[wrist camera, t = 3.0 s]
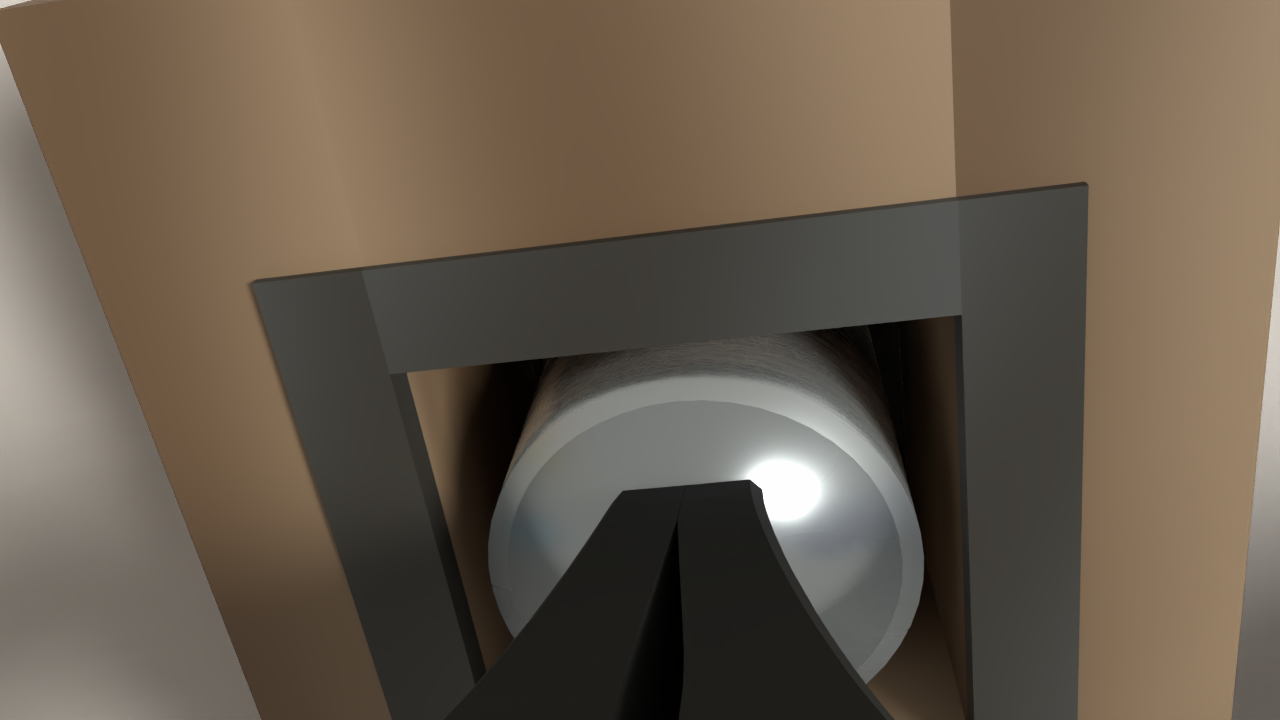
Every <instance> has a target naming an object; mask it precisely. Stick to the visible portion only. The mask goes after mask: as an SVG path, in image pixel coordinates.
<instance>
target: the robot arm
mask: <svg viewBox="0 0 1280 720" xmlns="http://www.w3.org/2000/svg"><path fill="white" fill-rule="evenodd" d="M443 720H894V718H893V717H892V716H891V715H890V714H889V712H888V711H887V710H886V709H885V708H884V706H883V705H882V704H881V703H880V701H879V700H878V699H877V698H876V696H875V695H874V694H873V693H872V691H871V690H870V689H869V687H868V686H867V685H866V683H865V682H864V681H863V679H862V678H861V677H860V675H859V674H858V673H857V671H856V670H855V669H854V667H853V666H852V664H851V663H850V662H849V660H848V659H847V657H846V656H845V654H844V653H843V652H842V650H841V649H840V647H839V646H838V644H837V643H836V642H835V640H834V639H833V637H832V636H831V634H830V633H829V631H828V630H827V628H826V626H825V625H824V623H823V622H822V620H821V619H820V617H819V616H818V614H817V612H816V611H815V609H814V607H813V606H812V604H811V602H810V600H809V599H808V597H807V595H806V593H805V592H804V590H803V588H802V586H801V585H800V583H799V581H798V579H797V578H796V576H795V574H794V573H793V571H792V569H791V567H790V565H789V563H788V561H787V559H786V557H785V555H784V553H783V551H782V548H781V546H780V544H779V542H778V539H777V537H776V535H775V533H774V530H773V528H772V525H771V522H770V520H769V517H768V514H767V511H766V507H765V503H764V496H763V489H762V488H760V487H759V486H758V485H757V484H755V483H754V482H753V481H751V480H750V479H748V480H737V481H726V482H715V483H705V484H693V485H686V486H685V485H682V486H671V487H659V488H648V489H636V490H624V491H622V492H621V493H620V494H619V495H618V497H617V498H616V499H615V500H614V501H613V502H612V504H611V505H610V507H609V508H608V510H607V511H606V513H605V515H604V516H603V518H602V519H601V521H600V522H599V524H598V525H597V527H596V528H595V530H594V531H593V533H592V534H591V536H590V537H589V539H588V540H587V542H586V543H585V545H584V546H583V547H582V549H581V550H580V552H579V553H578V555H577V556H576V558H575V559H574V560H573V562H572V563H571V565H570V566H569V568H568V569H567V570H566V572H565V573H564V575H563V576H562V577H561V579H560V580H559V581H558V583H557V584H556V585H555V587H554V588H553V589H552V591H551V592H550V593H549V595H548V596H547V597H546V599H545V600H544V601H543V603H542V604H541V605H540V607H539V608H538V610H537V611H536V612H535V614H534V615H533V616H532V618H531V619H530V620H529V621H528V623H527V624H526V625H525V626H524V628H523V629H522V630H521V632H520V633H519V634H518V635H517V636H516V637H515V639H514V640H513V641H512V642H511V643H510V645H509V646H508V647H507V648H506V649H505V651H504V652H503V653H502V654H501V655H500V656H499V658H498V659H497V660H496V661H495V662H494V664H493V665H492V666H491V667H490V668H489V669H488V671H487V672H486V673H485V674H484V675H483V677H482V678H481V679H480V680H479V681H478V682H477V684H476V685H475V686H474V687H473V688H472V689H471V690H470V691H469V693H468V694H467V695H466V696H465V697H464V698H463V699H462V700H461V701H460V702H459V703H458V704H457V705H456V707H455V708H454V709H453V710H452V711H451V712H450V713H449V714H448V715H447V716H446V717H445V718H444V719H443Z"/></svg>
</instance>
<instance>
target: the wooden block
mask: <svg viewBox="0 0 1280 720" xmlns="http://www.w3.org/2000/svg"><path fill="white" fill-rule="evenodd" d="M0 43H1V46H2V48H3V51H4V54H5V56H6V59H7V61H8V64H9V67H10V69H11V72H12V74H13V77H14V80H15V82H16V85H17V87H18V90H19V92H20V95H21V98H22V100H23V103H24V105H25V108H26V111H27V113H28V116H29V118H30V121H31V124H32V126H33V129H34V131H35V134H36V137H37V139H38V142H39V144H40V147H41V149H42V152H43V155H44V157H45V160H46V162H47V165H48V168H49V170H50V173H51V175H52V178H53V181H54V183H55V186H56V188H57V191H58V193H59V196H60V199H61V201H62V204H63V206H64V209H65V212H66V214H67V217H68V219H69V222H70V225H71V227H72V230H73V232H74V235H75V238H76V240H77V243H78V245H79V248H80V250H81V253H82V256H83V258H84V261H85V263H86V266H87V269H88V271H89V274H90V276H91V279H92V282H93V284H94V287H95V289H96V292H97V294H98V297H99V300H100V302H101V305H102V307H103V310H104V313H105V315H106V318H107V320H108V323H109V326H110V328H111V331H112V333H113V336H114V338H115V341H116V344H117V346H118V349H119V351H120V354H121V357H122V359H123V362H124V364H125V367H126V370H127V372H128V375H129V377H130V380H131V383H132V385H133V388H134V390H135V393H136V395H137V398H138V401H139V403H140V406H141V408H142V411H143V414H144V416H145V419H146V421H147V424H148V427H149V429H150V432H151V434H152V437H153V439H154V442H155V445H156V447H157V450H158V452H159V455H160V458H161V460H162V463H163V465H164V468H165V471H166V473H167V476H168V478H169V481H170V483H171V486H172V489H173V491H174V494H175V496H176V499H177V502H178V504H179V507H180V509H181V512H182V515H183V517H184V520H185V522H186V525H187V528H188V530H189V533H190V535H191V538H192V540H193V543H194V546H195V548H196V551H197V553H198V556H199V559H200V561H201V564H202V566H203V569H204V572H205V574H206V577H207V579H208V582H209V584H210V587H211V590H212V592H213V595H214V597H215V600H216V603H217V605H218V608H219V610H220V613H221V616H222V618H223V621H224V623H225V626H226V628H227V631H228V634H229V636H230V639H231V641H232V644H233V647H234V649H235V652H236V654H237V657H238V660H239V662H240V665H241V667H242V670H243V673H244V675H245V678H246V680H247V683H248V685H249V688H250V691H251V693H252V696H253V698H254V701H255V704H256V706H257V709H258V711H259V714H260V717H261V719H262V720H443V719H444V718H445V717H446V716H447V715H448V714H449V713H450V712H451V711H452V710H453V709H454V708H455V707H456V705H457V704H458V703H459V702H460V701H461V700H462V699H463V698H464V697H465V696H466V695H467V694H468V693H469V691H470V690H471V689H472V688H473V687H474V686H475V685H476V684H477V682H478V681H479V680H480V679H481V678H482V677H483V675H484V674H485V673H486V672H487V671H488V669H489V668H490V667H491V666H492V665H493V664H494V662H495V661H496V660H497V659H498V658H499V656H500V655H501V654H502V653H503V652H504V651H505V649H506V648H507V647H508V646H509V645H510V643H511V642H512V641H513V640H514V637H513V636H512V634H511V633H510V631H509V629H508V627H507V625H506V623H505V621H504V619H503V617H502V615H501V613H500V611H499V608H498V605H497V602H496V599H495V596H494V593H493V590H492V584H491V579H490V573H489V567H488V541H489V534H490V527H491V521H492V517H493V514H494V511H495V508H496V505H497V501H498V498H499V495H500V492H501V489H502V487H503V484H504V481H505V478H506V475H507V472H508V469H509V466H510V464H511V461H512V458H513V455H514V452H515V449H516V446H517V443H518V441H519V438H520V435H521V432H522V429H523V426H524V423H525V420H526V417H527V415H528V412H529V409H530V406H531V403H532V400H533V397H534V394H535V392H536V389H537V386H538V383H537V378H536V373H535V369H534V364H533V359H542V358H552V357H561V356H571V355H580V354H590V353H600V352H609V351H619V350H628V349H638V348H648V347H657V346H667V345H676V344H686V343H696V342H705V341H715V340H724V339H734V338H744V337H753V336H763V335H772V334H782V333H792V332H801V331H811V330H820V329H830V328H840V327H849V326H859V325H868V324H878V323H888V322H897V321H898V331H899V349H900V366H901V384H902V401H903V418H904V436H905V453H906V471H907V481H908V485H909V489H910V493H911V497H912V500H913V504H914V508H915V512H916V516H917V520H918V524H919V528H920V532H921V538H922V546H923V553H924V573H923V585H922V590H921V595H920V600H919V604H918V607H917V610H916V613H915V615H914V618H913V621H912V624H911V626H910V628H909V630H908V632H907V633H906V635H905V637H904V639H903V641H902V642H901V644H900V646H899V647H898V649H897V650H896V651H895V653H894V654H893V655H892V657H891V658H890V659H889V661H888V662H887V663H886V665H885V666H884V667H883V668H882V669H881V670H880V671H879V672H878V673H877V674H876V675H875V676H874V677H873V678H872V679H871V680H870V681H869V682H868V683H867V684H866V685H867V686H868V687H869V689H870V690H871V691H872V693H873V694H874V695H875V696H876V698H877V699H878V700H879V701H880V703H881V704H882V705H883V706H884V708H885V709H886V710H887V711H888V712H889V714H890V715H891V716H892V717H893V718H894V720H1231V718H1232V708H1233V698H1234V687H1235V677H1236V667H1237V656H1238V646H1239V636H1240V626H1241V615H1242V605H1243V595H1244V585H1245V574H1246V564H1247V554H1248V544H1249V533H1250V523H1251V513H1252V503H1253V492H1254V482H1255V472H1256V462H1257V451H1258V441H1259V431H1260V421H1261V410H1262V400H1263V390H1264V380H1265V369H1266V359H1267V349H1268V338H1269V328H1270V318H1271V308H1272V297H1273V287H1274V277H1275V267H1276V256H1277V246H1278V236H1279V226H1280V0H31V1H27V2H23V3H20V4H16V5H12V6H8V7H5V8H1V9H0Z"/></svg>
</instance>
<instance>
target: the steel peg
mask: <svg viewBox="0 0 1280 720" xmlns="http://www.w3.org/2000/svg"><path fill="white" fill-rule="evenodd" d="M748 479H750V480H751V481H753V482H754V483H755V484H757V485H758V486H759V487H760V488H762V489H763V496H764V503H765V507H766V511H767V514H768V517H769V520H770V522H771V525H772V528H773V530H774V533H775V535H776V537H777V539H778V542H779V544H780V546H781V548H782V551H783V553H784V555H785V557H786V559H787V561H788V563H789V565H790V567H791V569H792V571H793V573H794V574H795V576H796V578H797V579H798V581H799V583H800V585H801V586H802V588H803V590H804V592H805V593H806V595H807V597H808V599H809V600H810V602H811V604H812V606H813V607H814V609H815V611H816V612H817V614H818V616H819V617H820V619H821V620H822V622H823V623H824V625H825V626H826V628H827V630H828V631H829V633H830V634H831V636H832V637H833V639H834V640H835V642H836V643H837V644H838V646H839V647H840V649H841V650H842V652H843V653H844V654H845V656H846V657H847V659H848V660H849V662H850V663H851V664H852V666H853V667H854V669H855V670H856V671H857V673H858V674H859V675H860V677H861V678H862V679H863V681H864V682H865V683H866V684H867V683H868V682H869V681H870V680H871V679H872V678H873V677H874V676H875V675H876V674H877V673H878V672H879V671H880V670H881V669H882V668H883V667H884V666H885V665H886V663H887V662H888V661H889V659H890V658H891V657H892V655H893V654H894V653H895V651H896V650H897V649H898V647H899V646H900V644H901V642H902V641H903V639H904V637H905V635H906V633H907V632H908V630H909V628H910V626H911V624H912V621H913V618H914V615H915V613H916V610H917V607H918V604H919V600H920V595H921V590H922V585H923V573H924V553H923V546H922V538H921V532H920V528H919V524H918V520H917V516H916V512H915V508H914V504H913V500H912V497H911V493H910V489H909V485H908V481H907V477H906V473H905V469H904V465H903V461H902V457H901V453H900V450H899V446H898V442H897V438H896V434H895V430H894V426H893V422H892V418H891V414H890V410H889V406H888V402H887V399H886V395H885V391H884V387H883V383H882V379H881V375H880V371H879V367H878V363H877V359H876V355H875V352H874V348H873V344H872V340H871V336H870V332H869V329H868V325H859V326H849V327H840V328H830V329H820V330H811V331H801V332H792V333H782V334H772V335H763V336H753V337H744V338H734V339H724V340H715V341H705V342H696V343H686V344H676V345H667V346H657V347H648V348H638V349H628V350H619V351H609V352H600V353H590V354H580V355H571V356H561V357H552V358H547V360H546V363H545V366H544V369H543V371H542V374H541V377H540V380H539V383H538V386H537V389H536V392H535V394H534V397H533V400H532V403H531V406H530V409H529V412H528V415H527V417H526V420H525V423H524V426H523V429H522V432H521V435H520V438H519V441H518V443H517V446H516V449H515V452H514V455H513V458H512V461H511V464H510V466H509V469H508V472H507V475H506V478H505V481H504V484H503V487H502V489H501V492H500V495H499V498H498V501H497V505H496V508H495V511H494V514H493V517H492V521H491V527H490V534H489V541H488V567H489V573H490V579H491V584H492V590H493V593H494V596H495V599H496V602H497V605H498V608H499V611H500V613H501V615H502V617H503V619H504V621H505V623H506V625H507V627H508V629H509V631H510V633H511V634H512V636H513V637H514V639H515V637H516V636H517V635H518V634H519V633H520V632H521V630H522V629H523V628H524V626H525V625H526V624H527V623H528V621H529V620H530V619H531V618H532V616H533V615H534V614H535V612H536V611H537V610H538V608H539V607H540V605H541V604H542V603H543V601H544V600H545V599H546V597H547V596H548V595H549V593H550V592H551V591H552V589H553V588H554V587H555V585H556V584H557V583H558V581H559V580H560V579H561V577H562V576H563V575H564V573H565V572H566V570H567V569H568V568H569V566H570V565H571V563H572V562H573V560H574V559H575V558H576V556H577V555H578V553H579V552H580V550H581V549H582V547H583V546H584V545H585V543H586V542H587V540H588V539H589V537H590V536H591V534H592V533H593V531H594V530H595V528H596V527H597V525H598V524H599V522H600V521H601V519H602V518H603V516H604V515H605V513H606V511H607V510H608V508H609V507H610V505H611V504H612V502H613V501H614V500H615V499H616V498H617V497H618V495H619V494H620V493H621V492H622V491H624V490H636V489H648V488H659V487H671V486H682V485H685V486H686V485H693V484H705V483H715V482H726V481H737V480H748Z"/></svg>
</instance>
